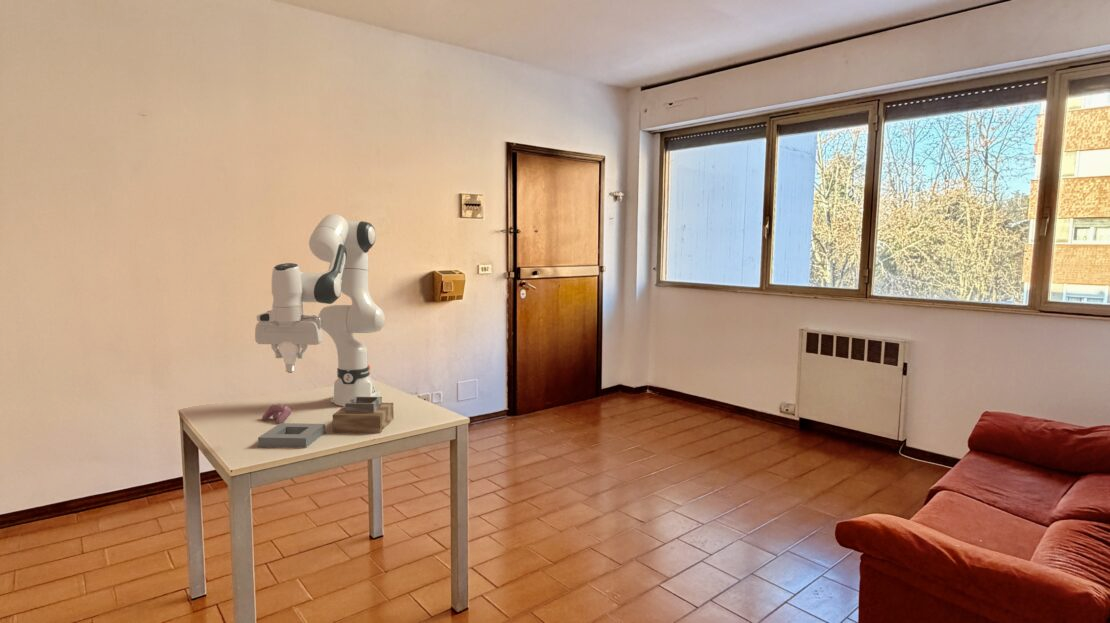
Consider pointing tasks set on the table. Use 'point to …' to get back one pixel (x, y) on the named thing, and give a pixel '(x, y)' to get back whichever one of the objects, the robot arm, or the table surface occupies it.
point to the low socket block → (291, 435)
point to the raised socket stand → (363, 415)
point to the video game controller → (277, 412)
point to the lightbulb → (289, 354)
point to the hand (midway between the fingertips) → (290, 358)
